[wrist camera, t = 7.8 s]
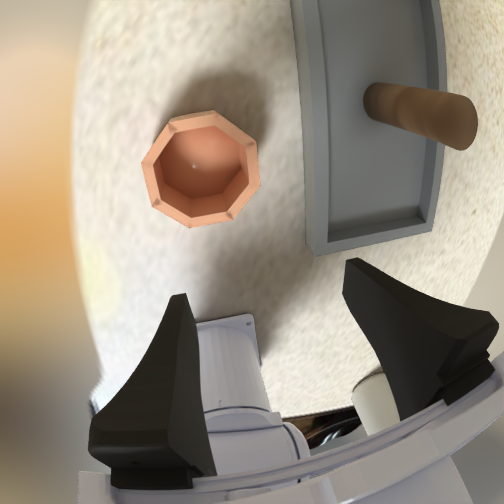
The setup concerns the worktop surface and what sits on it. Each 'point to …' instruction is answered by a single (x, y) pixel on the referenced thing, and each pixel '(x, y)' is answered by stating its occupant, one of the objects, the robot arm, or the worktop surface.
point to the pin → (424, 112)
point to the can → (375, 404)
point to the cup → (201, 169)
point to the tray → (365, 119)
